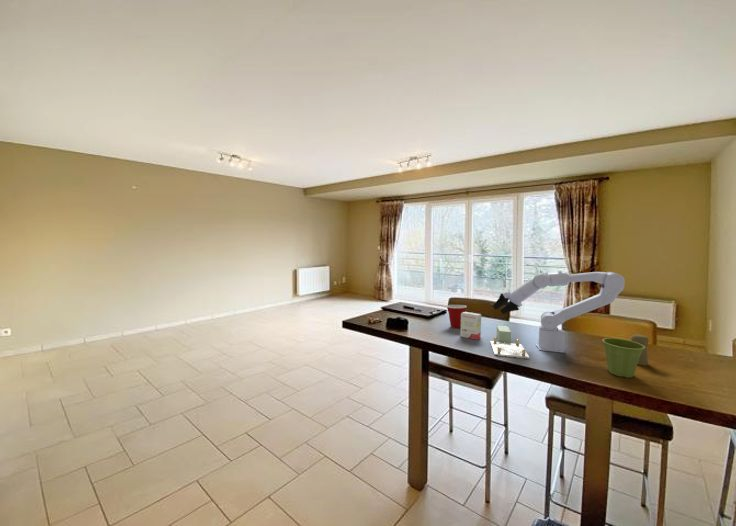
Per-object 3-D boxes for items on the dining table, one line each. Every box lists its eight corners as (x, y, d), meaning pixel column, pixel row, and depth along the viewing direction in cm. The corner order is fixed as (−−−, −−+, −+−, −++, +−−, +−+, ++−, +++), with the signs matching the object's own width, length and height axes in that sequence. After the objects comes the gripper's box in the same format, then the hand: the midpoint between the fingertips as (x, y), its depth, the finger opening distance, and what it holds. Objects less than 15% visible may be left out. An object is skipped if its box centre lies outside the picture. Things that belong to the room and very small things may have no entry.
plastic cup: (453, 323, 179) (454, 302, 179) (470, 327, 171) (471, 305, 170) (441, 326, 172) (442, 304, 172) (458, 330, 164) (459, 308, 163)
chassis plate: (521, 345, 141) (521, 339, 141) (529, 359, 125) (529, 351, 125) (490, 342, 145) (490, 336, 145) (494, 355, 129) (494, 348, 128)
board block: (507, 337, 155) (507, 326, 154) (510, 343, 145) (511, 331, 145) (496, 336, 156) (496, 325, 156) (498, 342, 146) (499, 330, 146)
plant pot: (597, 373, 112) (599, 342, 111) (603, 364, 120) (605, 335, 120) (641, 384, 104) (643, 351, 103) (644, 374, 112) (646, 343, 111)
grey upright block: (624, 360, 125) (626, 333, 124) (634, 359, 127) (636, 332, 126) (642, 366, 119) (644, 338, 118) (652, 364, 121) (654, 336, 121)
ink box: (481, 337, 153) (482, 313, 152) (477, 340, 149) (478, 315, 148) (464, 334, 158) (464, 311, 157) (459, 336, 154) (460, 312, 154)
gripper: (524, 291, 149) (500, 308, 154) (510, 281, 140) (486, 299, 145) (533, 302, 144) (508, 319, 149) (519, 292, 135) (493, 310, 141)
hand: (497, 310), depth 147 cm, fingers open, 7 cm apart
